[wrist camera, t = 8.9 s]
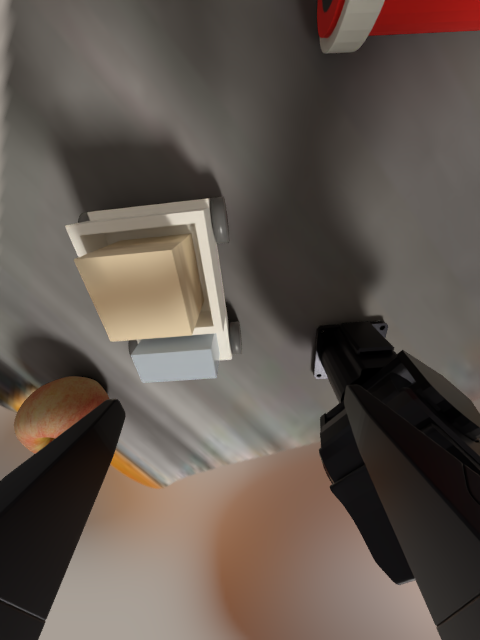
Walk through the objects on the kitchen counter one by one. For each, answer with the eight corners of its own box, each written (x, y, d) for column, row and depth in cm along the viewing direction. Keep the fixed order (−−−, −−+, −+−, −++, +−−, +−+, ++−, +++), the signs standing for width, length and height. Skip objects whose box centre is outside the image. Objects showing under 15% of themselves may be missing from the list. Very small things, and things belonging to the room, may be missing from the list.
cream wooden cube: (204, 300, 18) (192, 335, 14) (142, 305, 18) (110, 341, 14) (191, 233, 15) (171, 249, 11) (120, 240, 16) (73, 259, 11)
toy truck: (241, 341, 23) (241, 382, 18) (147, 348, 24) (122, 390, 19) (225, 196, 17) (217, 198, 12) (96, 210, 17) (38, 218, 12)
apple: (120, 366, 25) (73, 434, 18) (127, 414, 29) (90, 486, 22) (43, 357, 24) (-36, 424, 17) (61, 407, 28) (2, 478, 21)
